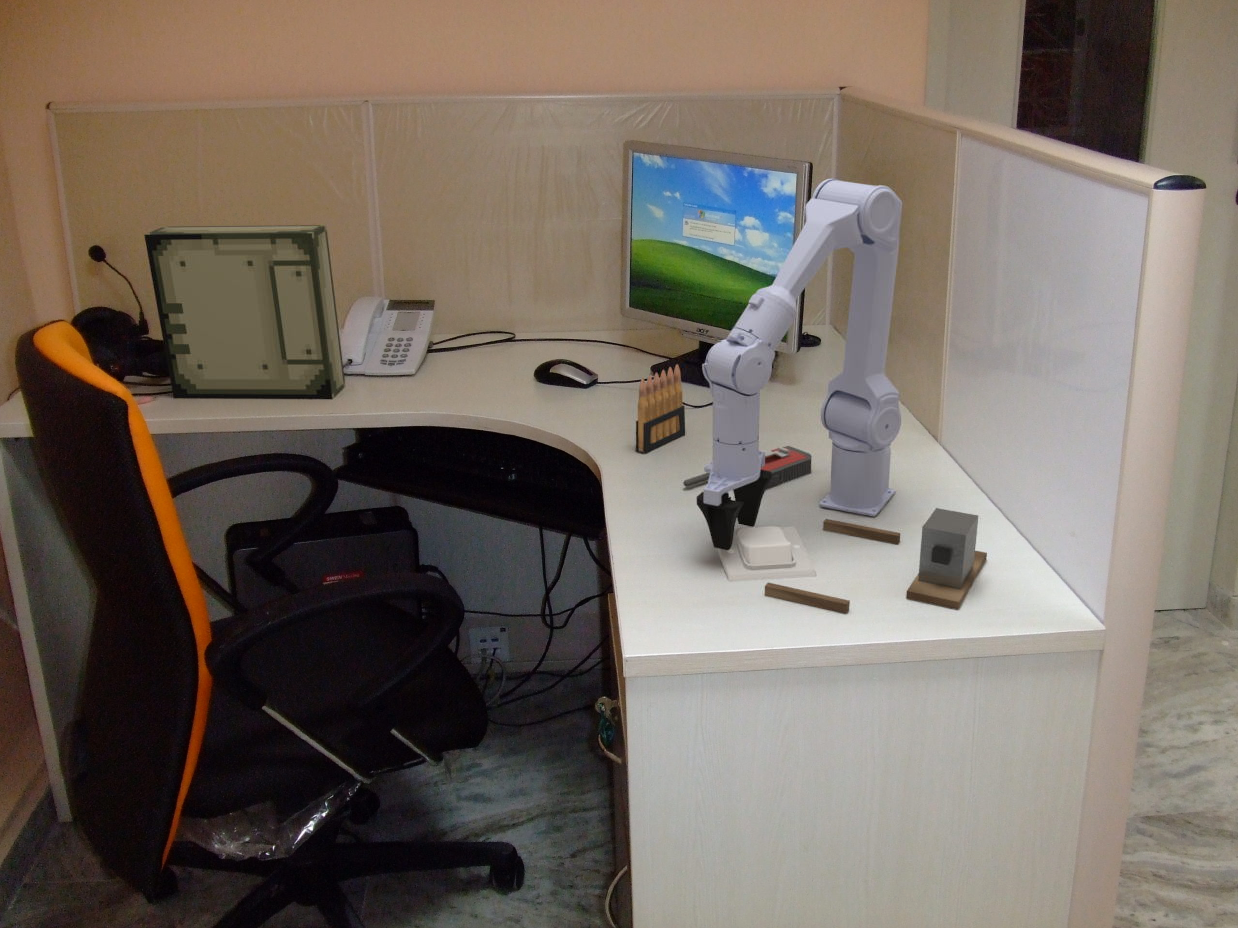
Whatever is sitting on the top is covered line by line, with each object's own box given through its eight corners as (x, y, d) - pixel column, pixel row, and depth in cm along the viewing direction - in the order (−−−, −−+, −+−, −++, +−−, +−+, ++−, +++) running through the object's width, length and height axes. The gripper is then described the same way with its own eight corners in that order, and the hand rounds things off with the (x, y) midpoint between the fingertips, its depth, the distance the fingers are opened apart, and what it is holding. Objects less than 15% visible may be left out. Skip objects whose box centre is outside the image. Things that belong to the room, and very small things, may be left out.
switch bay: (825, 526, 153) (825, 518, 152) (899, 541, 148) (900, 532, 148) (764, 594, 136) (764, 585, 135) (846, 613, 131) (846, 604, 131)
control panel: (345, 386, 215) (326, 225, 204) (332, 399, 208) (311, 233, 197) (191, 385, 218) (164, 226, 207) (173, 398, 211) (144, 234, 200)
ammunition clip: (644, 454, 179) (643, 380, 174) (635, 452, 180) (633, 378, 176) (685, 434, 187) (685, 363, 182) (676, 432, 188) (675, 361, 183)
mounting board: (937, 550, 145) (938, 543, 145) (986, 559, 143) (987, 552, 142) (906, 598, 134) (906, 590, 134) (958, 609, 131) (958, 601, 131)
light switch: (729, 561, 138) (712, 512, 150) (728, 591, 140) (712, 540, 151) (818, 556, 139) (795, 507, 150) (816, 586, 140) (793, 535, 152)
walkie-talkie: (778, 456, 178) (679, 490, 166) (778, 429, 176) (679, 462, 165) (820, 473, 171) (720, 509, 160) (821, 445, 169) (720, 480, 158)
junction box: (932, 559, 141) (936, 507, 138) (973, 567, 139) (979, 514, 136) (916, 583, 135) (920, 529, 133) (959, 592, 133) (964, 537, 130)
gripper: (730, 414, 150) (729, 509, 155) (680, 450, 139) (681, 552, 144) (781, 422, 147) (778, 519, 152) (734, 460, 135) (733, 563, 140)
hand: (734, 536), depth 148 cm, fingers open, 7 cm apart
